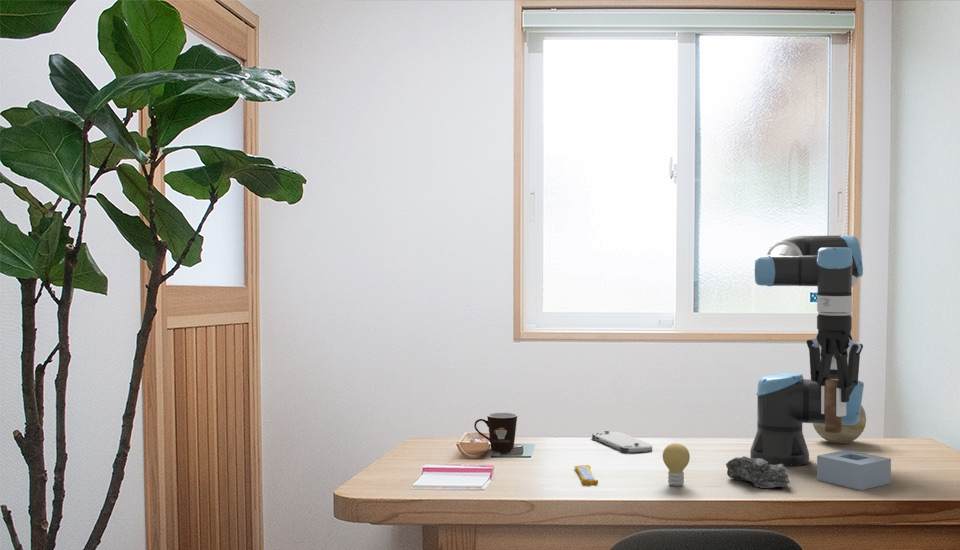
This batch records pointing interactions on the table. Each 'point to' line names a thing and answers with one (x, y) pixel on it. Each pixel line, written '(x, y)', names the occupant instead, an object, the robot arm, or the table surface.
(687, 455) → the light bulb
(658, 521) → the table surface
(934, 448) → the table surface
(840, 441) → the decorative ball
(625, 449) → the handheld gaming console
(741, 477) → the rock
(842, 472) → the socket
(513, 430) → the coffee mug
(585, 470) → the candy bar
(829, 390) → the peg
